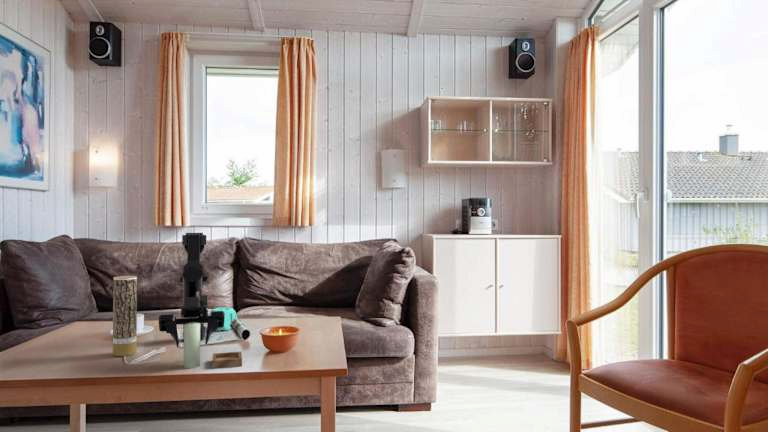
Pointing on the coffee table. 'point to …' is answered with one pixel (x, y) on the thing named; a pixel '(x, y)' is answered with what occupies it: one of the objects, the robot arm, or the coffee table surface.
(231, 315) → the decorative dice
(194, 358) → the candle
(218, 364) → the holder
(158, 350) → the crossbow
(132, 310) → the wooden log cylinder
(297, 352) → the coffee table surface
